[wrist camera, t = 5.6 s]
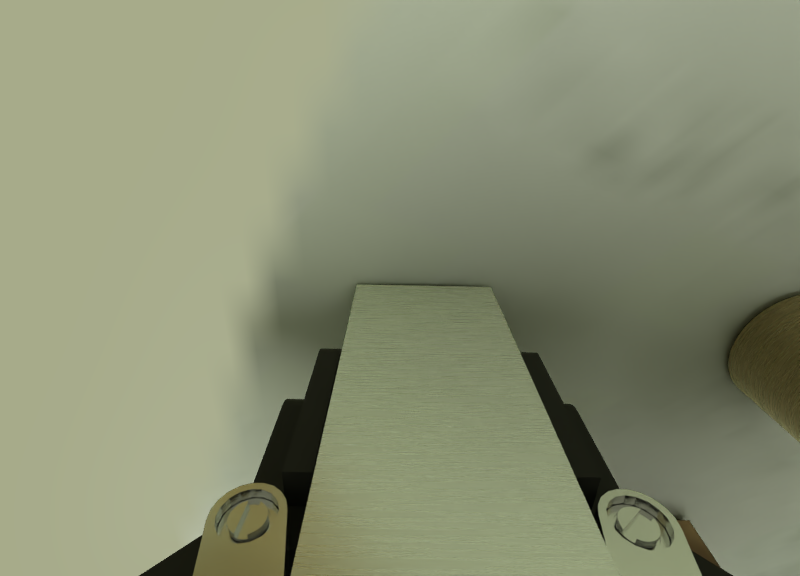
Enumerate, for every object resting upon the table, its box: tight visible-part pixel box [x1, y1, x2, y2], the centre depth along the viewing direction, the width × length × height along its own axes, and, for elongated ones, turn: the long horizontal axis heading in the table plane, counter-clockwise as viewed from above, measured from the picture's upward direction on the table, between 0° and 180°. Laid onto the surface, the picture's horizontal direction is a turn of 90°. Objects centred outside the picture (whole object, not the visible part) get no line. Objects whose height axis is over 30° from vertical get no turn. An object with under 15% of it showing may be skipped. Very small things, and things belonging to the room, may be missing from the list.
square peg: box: [291, 284, 620, 576], centre depth 9 cm, size 4×4×10 cm
